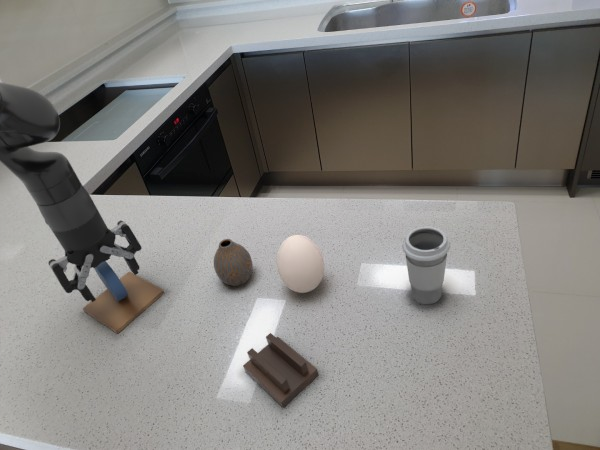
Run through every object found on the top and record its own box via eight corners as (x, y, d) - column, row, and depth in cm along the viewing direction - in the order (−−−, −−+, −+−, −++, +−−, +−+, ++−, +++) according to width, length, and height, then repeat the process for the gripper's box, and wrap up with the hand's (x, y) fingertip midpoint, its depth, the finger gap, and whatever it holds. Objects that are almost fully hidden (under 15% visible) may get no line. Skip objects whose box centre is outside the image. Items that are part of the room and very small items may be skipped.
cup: (419, 316, 72) (418, 260, 65) (396, 289, 77) (393, 235, 70) (457, 298, 74) (460, 241, 66) (432, 273, 79) (433, 218, 71)
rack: (283, 408, 64) (277, 392, 61) (245, 371, 70) (238, 355, 67) (318, 374, 67) (314, 358, 65) (279, 342, 73) (274, 326, 71)
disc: (118, 304, 88) (118, 298, 80) (94, 270, 88) (92, 261, 81) (128, 298, 89) (128, 291, 81) (104, 264, 89) (102, 255, 82)
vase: (214, 289, 85) (199, 254, 80) (229, 263, 90) (216, 229, 85) (247, 293, 83) (234, 258, 77) (261, 267, 88) (250, 231, 82)
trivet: (117, 334, 80) (115, 331, 80) (84, 311, 87) (82, 308, 86) (164, 292, 87) (163, 289, 86) (130, 274, 93) (129, 271, 92)
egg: (337, 283, 81) (328, 234, 74) (305, 311, 77) (292, 262, 70) (306, 265, 86) (295, 217, 79) (274, 290, 82) (260, 242, 75)
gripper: (35, 248, 68) (85, 319, 78) (121, 201, 75) (157, 272, 85) (21, 229, 73) (70, 298, 83) (104, 187, 80) (139, 255, 90)
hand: (114, 285), depth 84 cm, fingers open, 8 cm apart
